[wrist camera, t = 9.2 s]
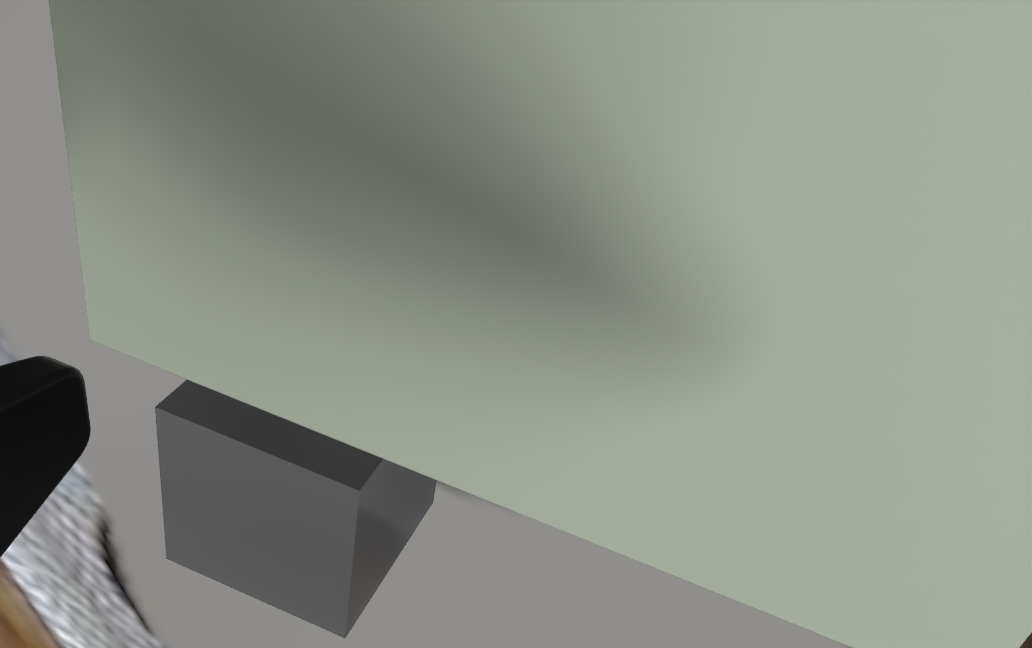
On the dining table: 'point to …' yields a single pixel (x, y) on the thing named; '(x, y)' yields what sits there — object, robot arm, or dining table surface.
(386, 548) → the gray cube
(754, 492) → the trapdoor
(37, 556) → the dining table surface
